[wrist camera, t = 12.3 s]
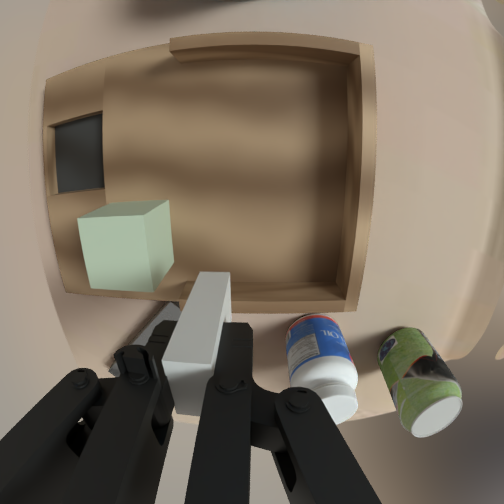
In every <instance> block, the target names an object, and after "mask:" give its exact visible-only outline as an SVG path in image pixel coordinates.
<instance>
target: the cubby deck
mask: <svg viewBox="0 0 504 504" xmlns="http://www.w3.org/2000/svg"><path fill="white" fill-rule="evenodd" d="M376 143H377V101H376V77H375V63H374V51H373V45H368V44H364V43H359V42H354V41H349V40H344V39H338V38H331V37H324V36H317V35H308V34H297V33H283V32H225V33H210V34H200V35H191V36H183V37H176V38H170V43H168V44H162V45H157V46H152V47H147V48H142V49H137V50H133V51H129V52H125V53H121V54H117V55H114V56H110V57H107V58H103V59H100V60H97V61H94V62H91V63H88V64H85V65H82V66H79V67H76V68H74V69H71V70H68V71H66V72H63V73H61V74H58V75H56V76H54V77H51V78H49V79H47V80H46V86H45V97H44V114H43V158H44V175H45V187H46V196H47V204H48V212H49V219H50V225H51V231H52V236H53V241H54V246H55V251H56V256H57V260H58V264H59V269H60V273H61V276H62V280H63V284H64V287H65V291H66V293H75V294H85V295H95V296H106V297H118V298H131V299H145V300H161V301H179V306H180V311H183V309H184V306H185V304H186V302H187V300H188V297H189V295H190V293H191V291H192V288H193V286H194V284H195V282H196V279H197V277H198V275H199V273H200V272H230V287H231V313H328V312H352V311H356V309H357V305H358V300H359V295H360V290H361V284H362V279H363V273H364V267H365V261H366V255H367V248H368V241H369V233H370V225H371V216H372V207H373V196H374V183H375V168H376ZM148 200H169V208H170V222H171V234H172V245H173V255H174V263H173V265H172V266H171V268H170V269H169V271H168V272H167V273H166V275H165V276H164V278H163V279H162V281H161V282H160V284H159V285H158V287H157V288H156V290H155V291H154V292H136V291H121V290H107V289H94V288H91V286H90V282H89V278H88V274H87V270H86V265H85V260H84V256H83V250H82V245H81V240H80V234H79V228H78V221H77V218H79V217H81V216H83V215H85V214H88V213H90V212H92V211H94V210H96V209H99V208H101V207H103V206H105V205H108V204H110V203H114V202H130V201H148Z"/></svg>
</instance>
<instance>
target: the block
mask: <svg viewBox="0 0 504 504" xmlns="http://www.w3.org/2000/svg"><path fill="white" fill-rule="evenodd" d="M77 221H78V228H79V234H80V240H81V245H82V250H83V256H84V260H85V265H86V270H87V274H88V278H89V282H90V286H91V288H94V289H107V290H121V291H136V292H154V291H155V290H156V288H157V287H158V285H159V284H160V282H161V281H162V279H163V278H164V276H165V275H166V273H167V272H168V271H169V269H170V268H171V266H172V265H173V263H174V255H173V245H172V234H171V222H170V208H169V200H148V201H130V202H114V203H110V204H108V205H105V206H103V207H101V208H99V209H96V210H94V211H92V212H90V213H88V214H85V215H83V216H81V217H79V218H77Z"/></svg>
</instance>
